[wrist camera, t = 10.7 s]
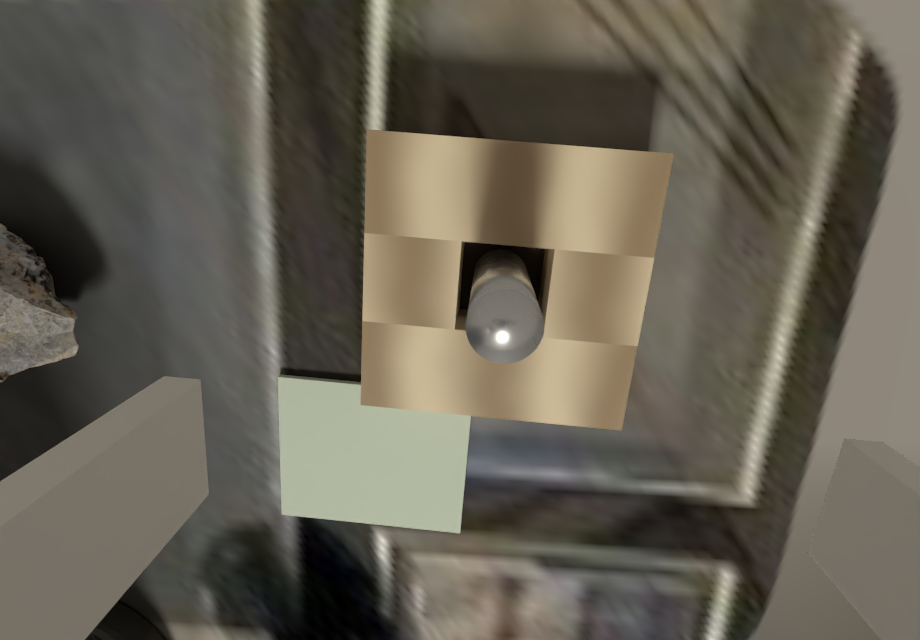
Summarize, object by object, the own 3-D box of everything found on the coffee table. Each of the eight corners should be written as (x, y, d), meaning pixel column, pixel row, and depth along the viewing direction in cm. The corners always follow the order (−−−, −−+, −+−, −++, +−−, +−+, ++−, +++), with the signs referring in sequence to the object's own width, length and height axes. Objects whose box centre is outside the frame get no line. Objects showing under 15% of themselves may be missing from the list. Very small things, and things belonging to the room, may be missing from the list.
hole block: (376, 376, 31) (360, 405, 28) (384, 134, 27) (366, 129, 24) (605, 398, 31) (621, 430, 27) (647, 155, 27) (673, 153, 23)
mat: (284, 510, 35) (281, 514, 34) (280, 374, 32) (277, 376, 31) (460, 529, 34) (460, 533, 34) (473, 392, 31) (472, 395, 31)
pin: (471, 297, 30) (462, 360, 20) (476, 246, 29) (468, 285, 19) (523, 302, 30) (539, 367, 20) (529, 251, 29) (548, 292, 19)
